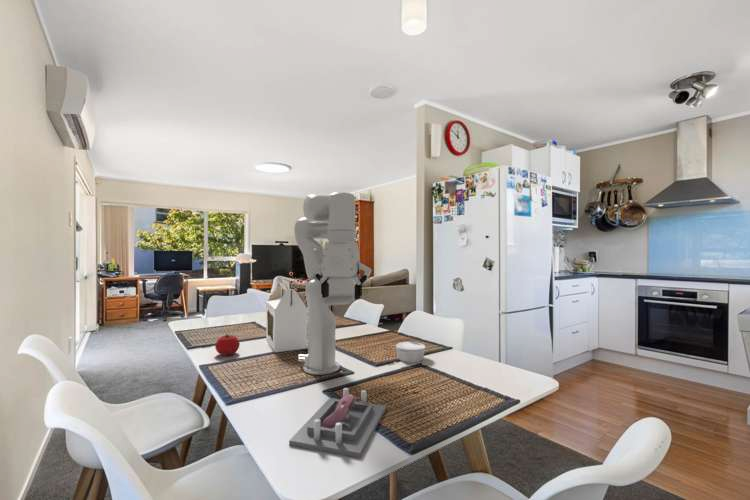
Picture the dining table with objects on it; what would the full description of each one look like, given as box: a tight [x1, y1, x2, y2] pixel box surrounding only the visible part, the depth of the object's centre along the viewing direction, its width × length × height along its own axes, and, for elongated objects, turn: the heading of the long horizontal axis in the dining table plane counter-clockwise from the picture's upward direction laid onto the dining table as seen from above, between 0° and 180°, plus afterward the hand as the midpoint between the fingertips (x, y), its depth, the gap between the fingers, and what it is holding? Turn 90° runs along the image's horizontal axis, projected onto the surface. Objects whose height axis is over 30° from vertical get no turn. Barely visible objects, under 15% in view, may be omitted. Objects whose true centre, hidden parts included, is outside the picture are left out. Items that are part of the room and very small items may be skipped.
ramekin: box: [395, 341, 427, 364], centre depth 133 cm, size 11×11×5 cm
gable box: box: [265, 278, 308, 353], centre depth 152 cm, size 22×13×28 cm, turn 26°
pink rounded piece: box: [323, 393, 357, 428], centre depth 83 cm, size 10×5×7 cm, turn 166°
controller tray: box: [288, 387, 387, 459], centre depth 83 cm, size 16×22×5 cm
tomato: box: [214, 333, 241, 356], centre depth 137 cm, size 9×9×8 cm
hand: (341, 297), depth 98 cm, fingers open, 9 cm apart
